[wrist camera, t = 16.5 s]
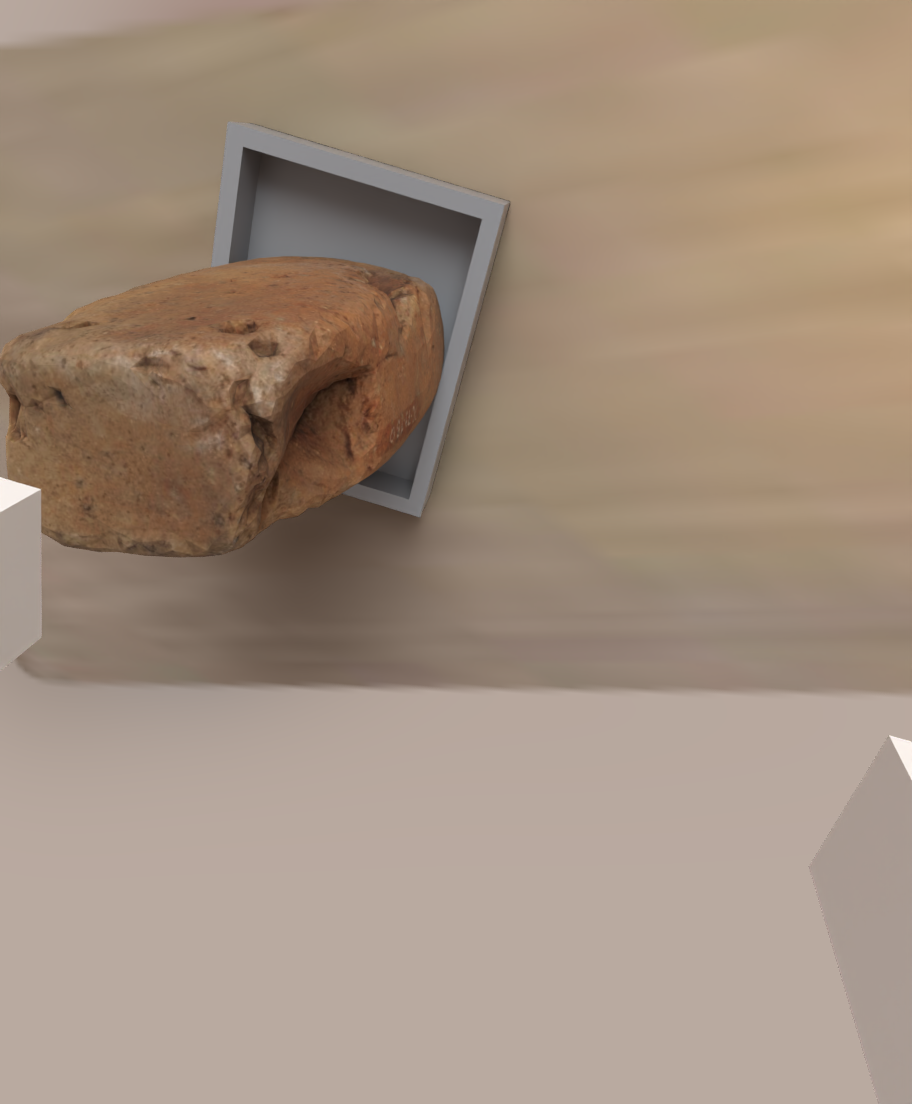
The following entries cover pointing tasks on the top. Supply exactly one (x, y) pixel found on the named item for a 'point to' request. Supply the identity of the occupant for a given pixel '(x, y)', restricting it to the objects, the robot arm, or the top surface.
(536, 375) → the top surface
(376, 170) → the tray
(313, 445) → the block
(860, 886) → the robot arm
